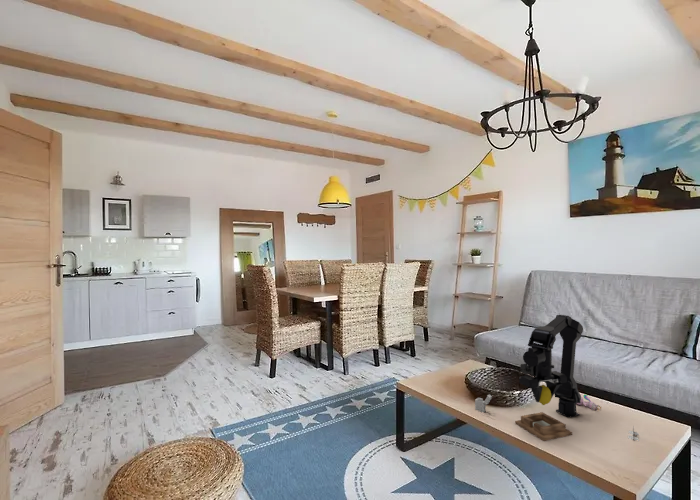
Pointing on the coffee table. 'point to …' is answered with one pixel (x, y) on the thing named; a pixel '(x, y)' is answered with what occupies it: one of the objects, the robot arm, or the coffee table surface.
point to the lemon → (545, 395)
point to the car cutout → (633, 434)
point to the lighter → (482, 403)
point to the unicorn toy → (589, 403)
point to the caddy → (543, 426)
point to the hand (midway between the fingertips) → (543, 400)
